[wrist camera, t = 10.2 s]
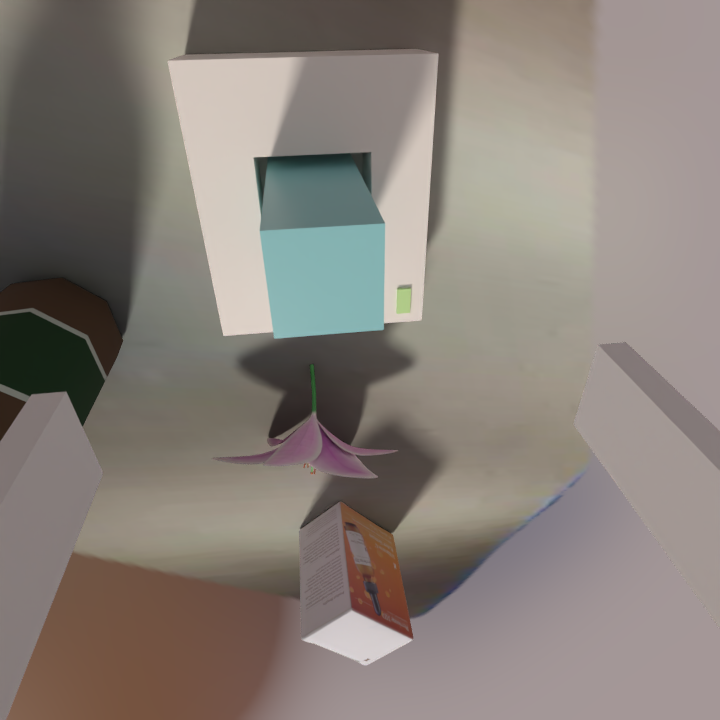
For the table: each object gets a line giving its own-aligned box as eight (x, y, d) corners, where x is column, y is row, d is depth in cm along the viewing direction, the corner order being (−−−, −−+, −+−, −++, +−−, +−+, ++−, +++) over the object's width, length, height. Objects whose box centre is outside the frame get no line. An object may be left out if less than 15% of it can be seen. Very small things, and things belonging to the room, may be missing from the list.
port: (184, 54, 25) (166, 61, 21) (416, 48, 26) (439, 53, 22) (230, 300, 33) (223, 337, 29) (406, 287, 34) (422, 322, 30)
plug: (268, 155, 27) (259, 230, 17) (349, 151, 28) (385, 223, 18) (277, 234, 30) (274, 338, 20) (351, 229, 30) (383, 329, 20)
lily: (199, 391, 38) (199, 519, 34) (277, 319, 30) (290, 475, 26) (325, 408, 46) (338, 515, 41) (414, 354, 38) (440, 480, 34)
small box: (393, 533, 50) (416, 640, 41) (352, 559, 51) (366, 668, 43) (339, 498, 46) (352, 609, 37) (296, 528, 47) (300, 642, 39)
